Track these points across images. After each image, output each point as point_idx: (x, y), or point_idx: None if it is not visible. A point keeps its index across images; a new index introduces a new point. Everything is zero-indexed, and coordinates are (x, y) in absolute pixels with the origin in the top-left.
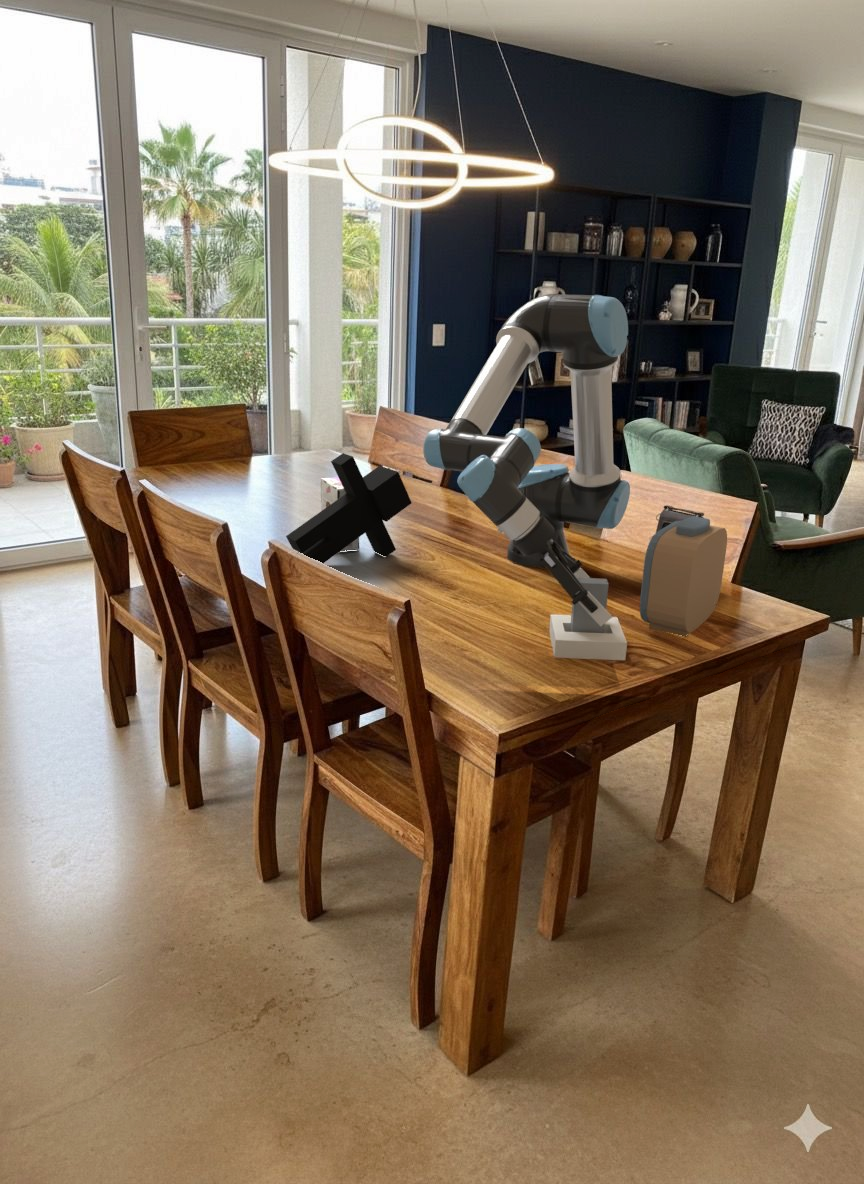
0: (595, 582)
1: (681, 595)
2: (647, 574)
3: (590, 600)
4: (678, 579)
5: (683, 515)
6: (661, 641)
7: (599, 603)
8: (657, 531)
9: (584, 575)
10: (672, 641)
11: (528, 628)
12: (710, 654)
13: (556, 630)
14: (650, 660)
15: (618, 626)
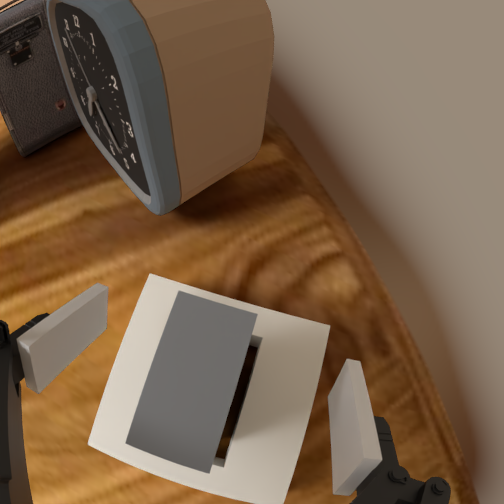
0: (219, 370)
1: (253, 113)
2: (160, 126)
3: (392, 451)
4: (245, 83)
5: (15, 7)
6: (226, 216)
7: (369, 406)
8: None
9: (52, 336)
10: (231, 197)
11: (84, 478)
12: (301, 168)
13: (212, 486)
14: (321, 282)
15: (215, 299)
